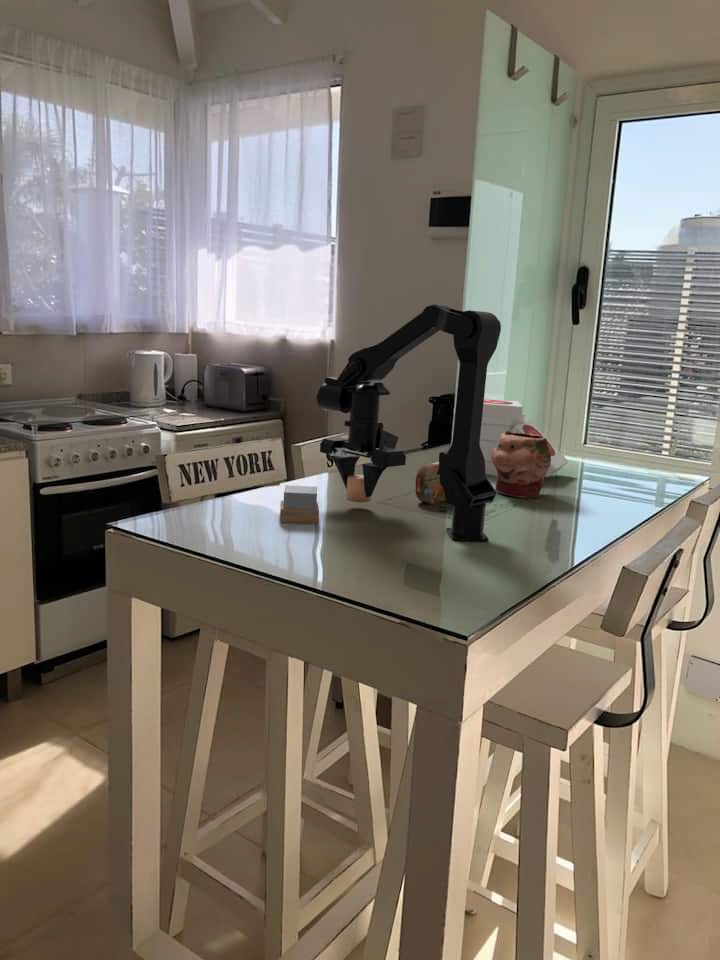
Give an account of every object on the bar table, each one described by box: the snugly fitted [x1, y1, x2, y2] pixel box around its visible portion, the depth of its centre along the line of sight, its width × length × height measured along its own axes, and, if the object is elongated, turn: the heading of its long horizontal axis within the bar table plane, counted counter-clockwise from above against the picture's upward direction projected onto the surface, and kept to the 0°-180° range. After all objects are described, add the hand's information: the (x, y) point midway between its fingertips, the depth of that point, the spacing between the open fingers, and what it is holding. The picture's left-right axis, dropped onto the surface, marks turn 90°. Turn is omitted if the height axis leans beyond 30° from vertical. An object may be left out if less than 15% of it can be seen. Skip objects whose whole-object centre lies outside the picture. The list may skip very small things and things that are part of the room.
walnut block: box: [279, 499, 320, 526], centre depth 147 cm, size 7×7×3 cm
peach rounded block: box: [345, 474, 372, 503], centre depth 158 cm, size 5×5×4 cm
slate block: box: [283, 484, 318, 510], centre depth 147 cm, size 6×6×3 cm
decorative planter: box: [491, 431, 551, 499], centre depth 183 cm, size 20×12×14 cm, turn 142°
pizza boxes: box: [451, 398, 569, 478], centre depth 209 cm, size 19×30×18 cm, turn 63°
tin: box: [415, 461, 446, 505], centre depth 170 cm, size 15×3×8 cm, turn 143°
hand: (359, 494), depth 158 cm, fingers closed on peach rounded block, 5 cm apart
